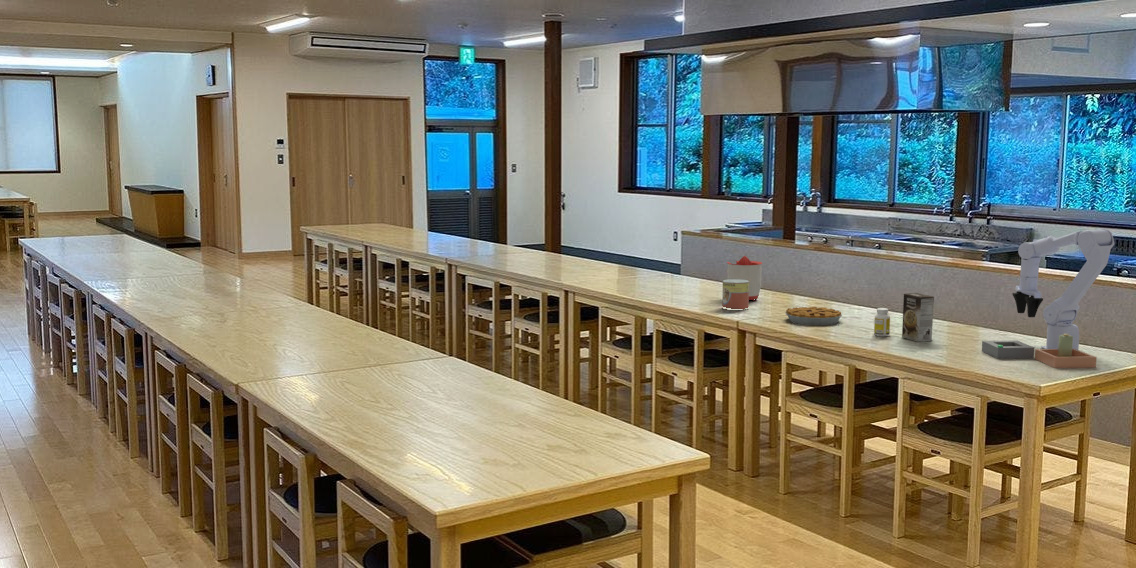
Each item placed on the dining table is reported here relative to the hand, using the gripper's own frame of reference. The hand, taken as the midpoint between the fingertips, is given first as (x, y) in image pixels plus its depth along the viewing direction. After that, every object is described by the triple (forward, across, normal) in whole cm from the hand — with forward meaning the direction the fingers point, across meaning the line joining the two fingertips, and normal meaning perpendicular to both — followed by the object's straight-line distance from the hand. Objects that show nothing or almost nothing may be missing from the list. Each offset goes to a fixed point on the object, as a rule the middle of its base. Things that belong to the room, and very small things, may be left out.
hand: (1026, 315), depth 352 cm
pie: (+12, -49, -61) cm, 79 cm away
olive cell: (+8, +33, -3) cm, 34 cm away
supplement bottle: (+11, -18, -44) cm, 49 cm away
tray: (+9, +33, -3) cm, 34 cm away
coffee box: (+11, -10, -34) cm, 37 cm away
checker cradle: (+10, +19, -15) cm, 26 cm away
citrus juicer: (+13, -106, -78) cm, 132 cm away
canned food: (+13, -81, -86) cm, 119 cm away
